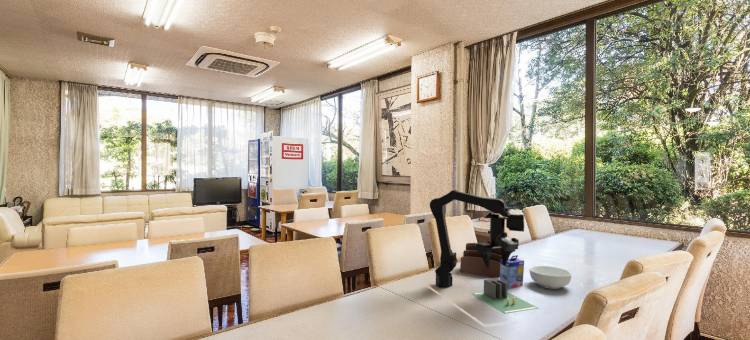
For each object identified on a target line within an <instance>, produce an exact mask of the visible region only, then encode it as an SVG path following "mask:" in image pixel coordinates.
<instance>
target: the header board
mask: <svg viewBox="0 0 750 340" xmlns="http://www.w3.org/2000/svg"><path fill="white" fill-rule="evenodd" d="M471 295H472V296H474V297H475V298H477V299H479V300H481V301H483V302H484V303H486V304H487V305H489V306H491V307H492V308H494V309H496V310H497V311H499V312H501V313H502V314H511V313H518V312H523V311H530V310H537V309H538V310H539V309H540V308H539V307H538V306H535V305H533V304H531V303H530V302H528V301H526V300H524V299H522V298H520V297H518V296H515V295H514V294H511V293H510V292H508V291H507V298H504V297H502V296H501V299H499V298H497V297H496V300H493V299H491V298H490V297H488V296H486V295H484V291H483V292H474V293H471Z"/></svg>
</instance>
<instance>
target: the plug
mask: <svg viewBox="0 0 750 340" xmlns="http://www.w3.org/2000/svg"><path fill="white" fill-rule="evenodd" d="M483 292H484V295H486V296H488V297H490V298H491V299H493V300H496V297H497V298H499V299H501V296H502V297H504V298H507V292H508V288H507V283H506V282H504V281H501V280H500V278H498V277H495V278H490V279H489V278H487V279H483Z"/></svg>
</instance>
